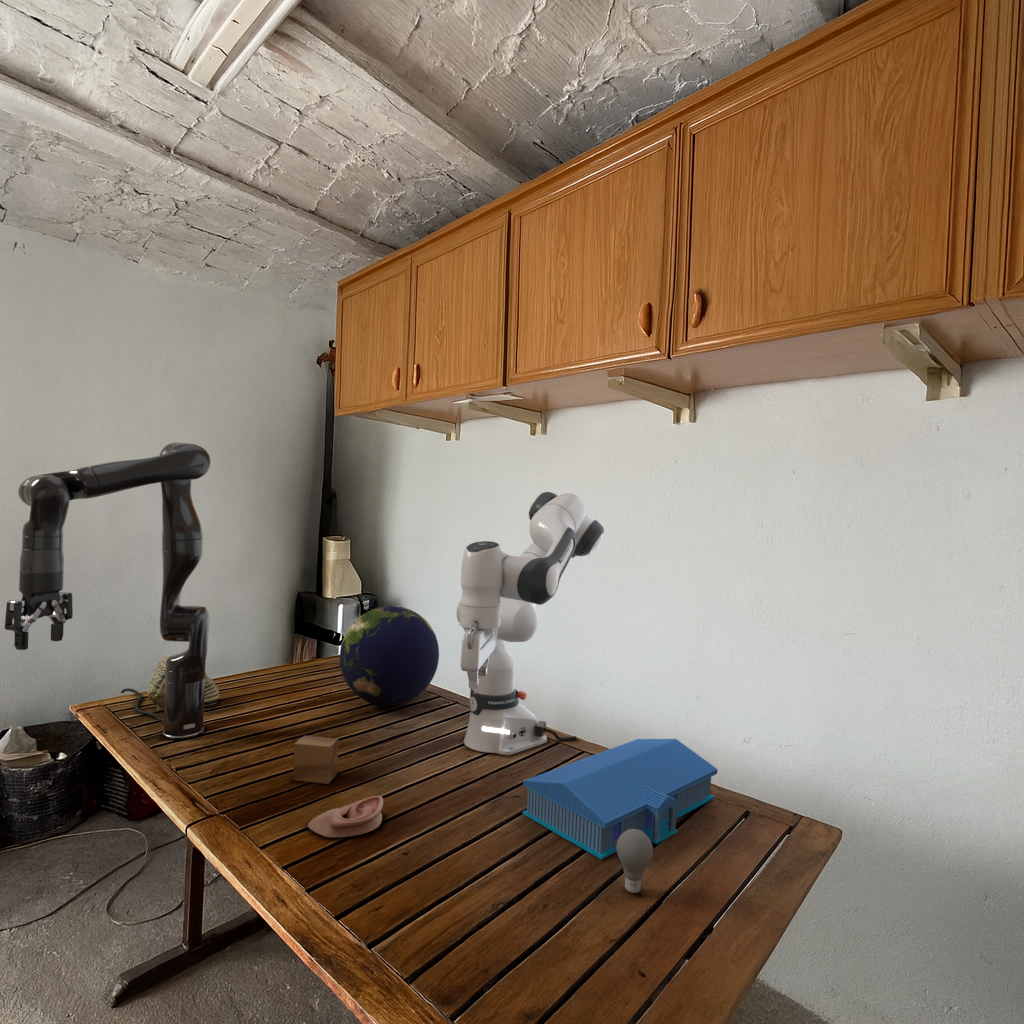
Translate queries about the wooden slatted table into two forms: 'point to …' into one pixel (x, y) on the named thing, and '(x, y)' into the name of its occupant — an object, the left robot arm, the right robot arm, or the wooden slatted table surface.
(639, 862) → the light bulb
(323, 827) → the anatomical model
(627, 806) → the model building
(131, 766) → the wooden slatted table surface
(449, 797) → the wooden slatted table surface
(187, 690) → the left robot arm
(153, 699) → the fossil
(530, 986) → the wooden slatted table surface
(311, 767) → the block
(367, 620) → the globe
